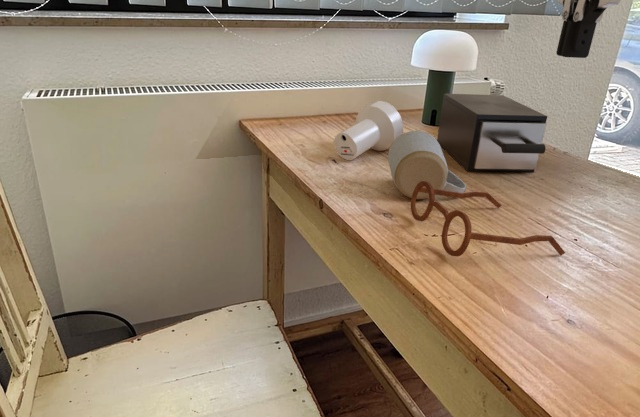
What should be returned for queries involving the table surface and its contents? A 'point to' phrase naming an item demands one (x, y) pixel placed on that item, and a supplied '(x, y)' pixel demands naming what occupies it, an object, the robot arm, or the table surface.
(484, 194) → the glasses
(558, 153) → the table surface
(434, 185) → the ceramic mug
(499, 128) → the drawer
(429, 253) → the table surface
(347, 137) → the spotlight
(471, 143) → the dark brown hollow box
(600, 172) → the table surface
